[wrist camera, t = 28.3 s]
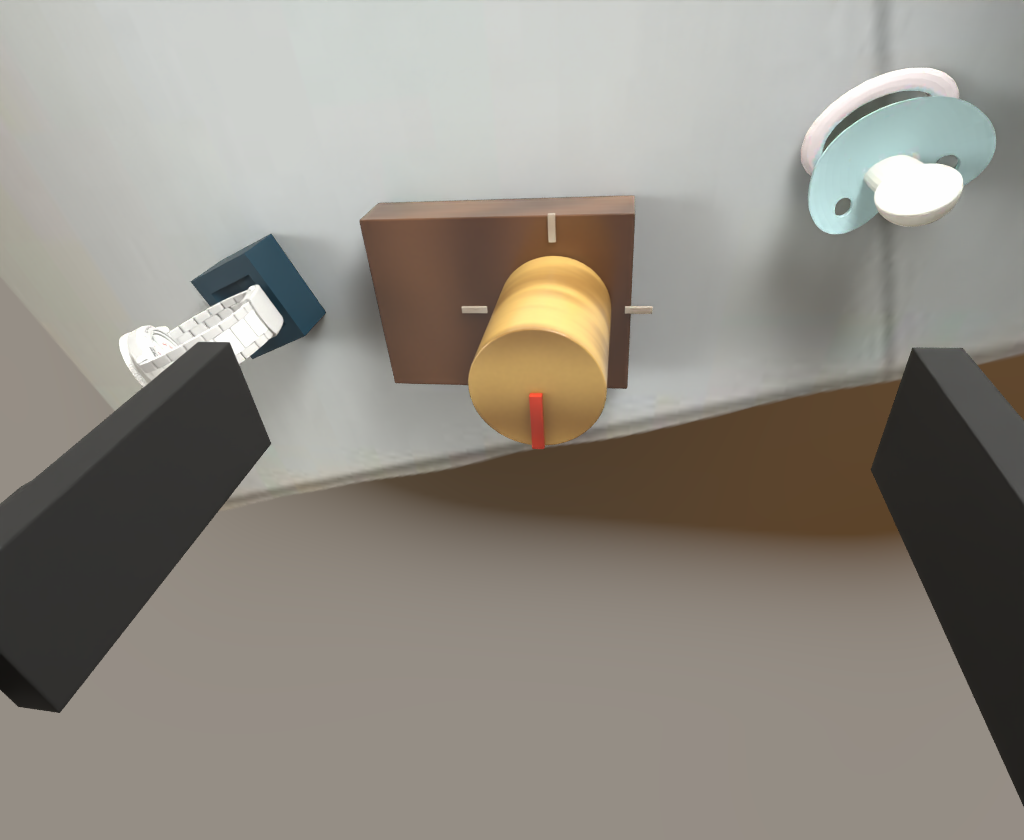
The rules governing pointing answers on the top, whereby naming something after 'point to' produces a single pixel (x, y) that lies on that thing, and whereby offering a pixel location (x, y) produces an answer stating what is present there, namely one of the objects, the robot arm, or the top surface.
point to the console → (486, 272)
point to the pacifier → (895, 153)
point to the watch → (233, 312)
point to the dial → (544, 354)
